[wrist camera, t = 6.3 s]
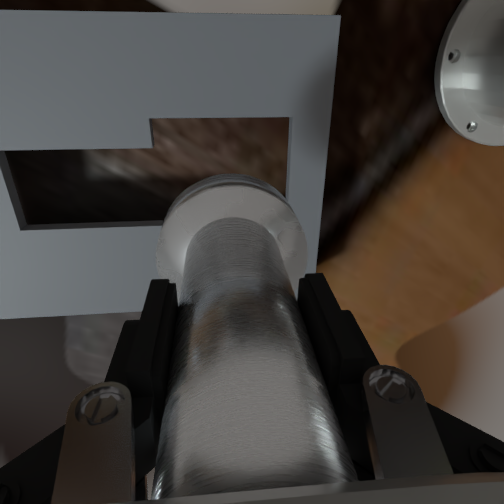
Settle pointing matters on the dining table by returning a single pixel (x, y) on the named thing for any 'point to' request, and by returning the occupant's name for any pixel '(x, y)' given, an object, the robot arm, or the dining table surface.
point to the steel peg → (241, 349)
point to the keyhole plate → (145, 129)
